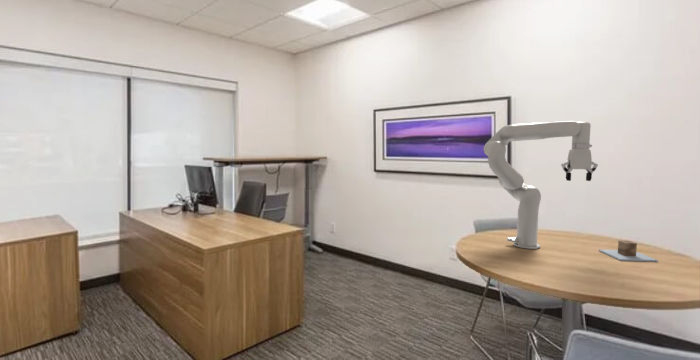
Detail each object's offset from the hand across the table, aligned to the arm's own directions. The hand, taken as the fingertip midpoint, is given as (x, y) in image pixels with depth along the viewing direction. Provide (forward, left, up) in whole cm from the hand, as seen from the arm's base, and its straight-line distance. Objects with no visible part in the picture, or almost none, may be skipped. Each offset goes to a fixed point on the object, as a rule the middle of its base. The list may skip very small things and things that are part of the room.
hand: (578, 180), depth 186 cm
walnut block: (+16, -15, -34) cm, 40 cm away
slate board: (+16, -15, -34) cm, 41 cm away
